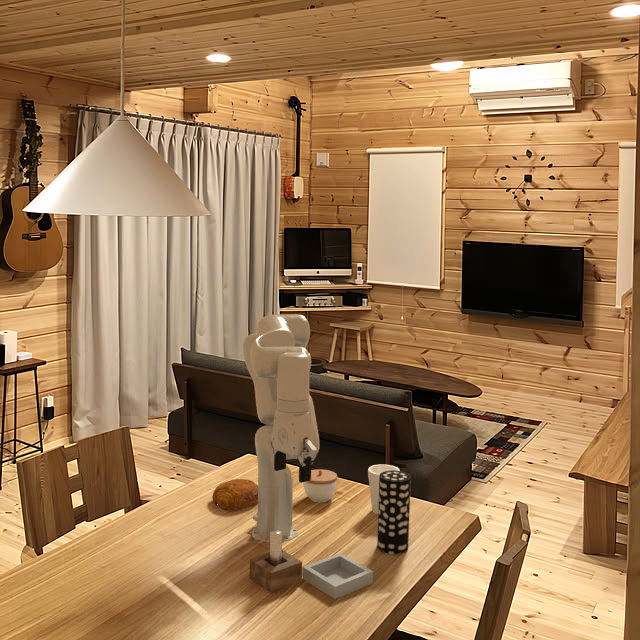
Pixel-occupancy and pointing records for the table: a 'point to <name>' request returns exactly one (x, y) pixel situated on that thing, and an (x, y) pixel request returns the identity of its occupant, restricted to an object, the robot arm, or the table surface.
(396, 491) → the spotted tube
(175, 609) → the table surface
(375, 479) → the foam cup
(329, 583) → the tray
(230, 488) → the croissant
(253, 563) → the socket block
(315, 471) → the lidded jar
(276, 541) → the steel pin
